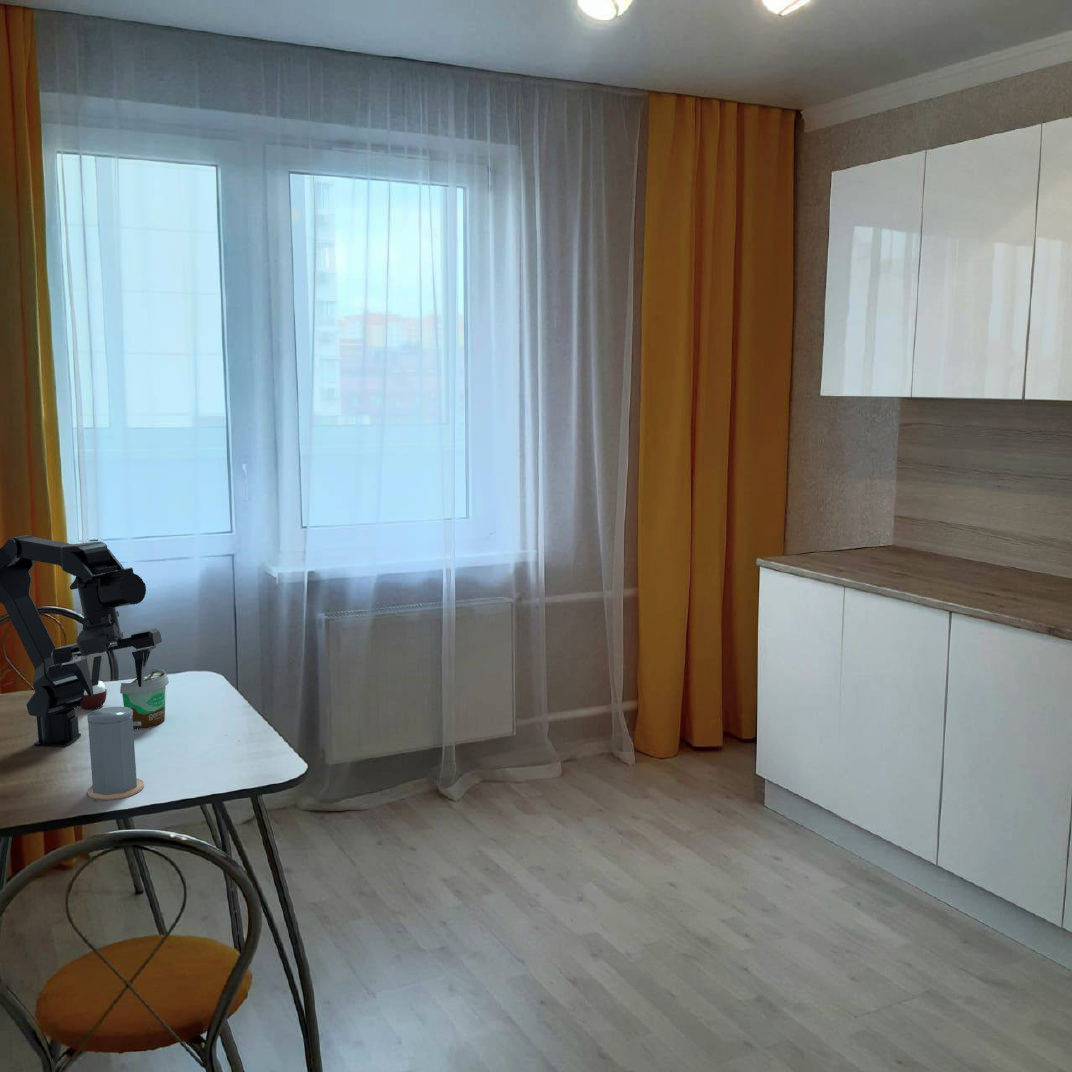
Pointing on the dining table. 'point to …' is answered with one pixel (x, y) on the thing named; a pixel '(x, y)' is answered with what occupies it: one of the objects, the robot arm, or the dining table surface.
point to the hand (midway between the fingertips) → (116, 691)
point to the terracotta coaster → (117, 796)
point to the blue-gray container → (112, 750)
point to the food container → (146, 699)
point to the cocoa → (95, 688)
